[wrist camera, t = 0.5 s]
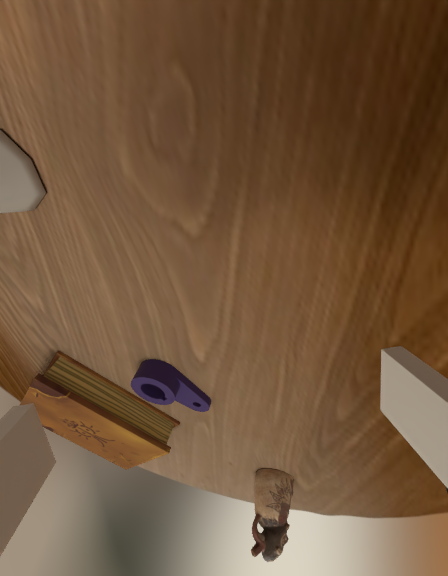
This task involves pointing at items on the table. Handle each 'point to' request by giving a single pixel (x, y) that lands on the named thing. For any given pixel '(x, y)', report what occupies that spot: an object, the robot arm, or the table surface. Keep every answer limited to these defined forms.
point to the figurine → (271, 512)
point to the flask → (17, 179)
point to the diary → (98, 414)
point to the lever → (167, 386)
